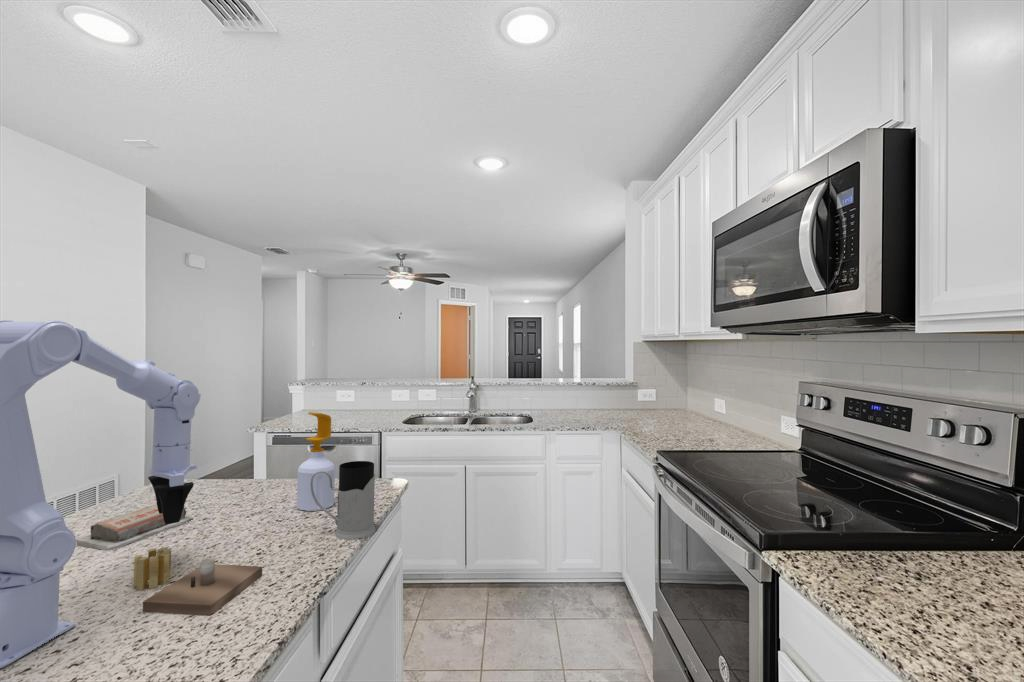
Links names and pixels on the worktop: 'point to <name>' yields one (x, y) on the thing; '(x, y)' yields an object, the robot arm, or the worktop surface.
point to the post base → (203, 589)
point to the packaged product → (128, 528)
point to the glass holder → (353, 500)
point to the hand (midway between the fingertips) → (168, 517)
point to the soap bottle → (315, 465)
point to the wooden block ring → (152, 569)
